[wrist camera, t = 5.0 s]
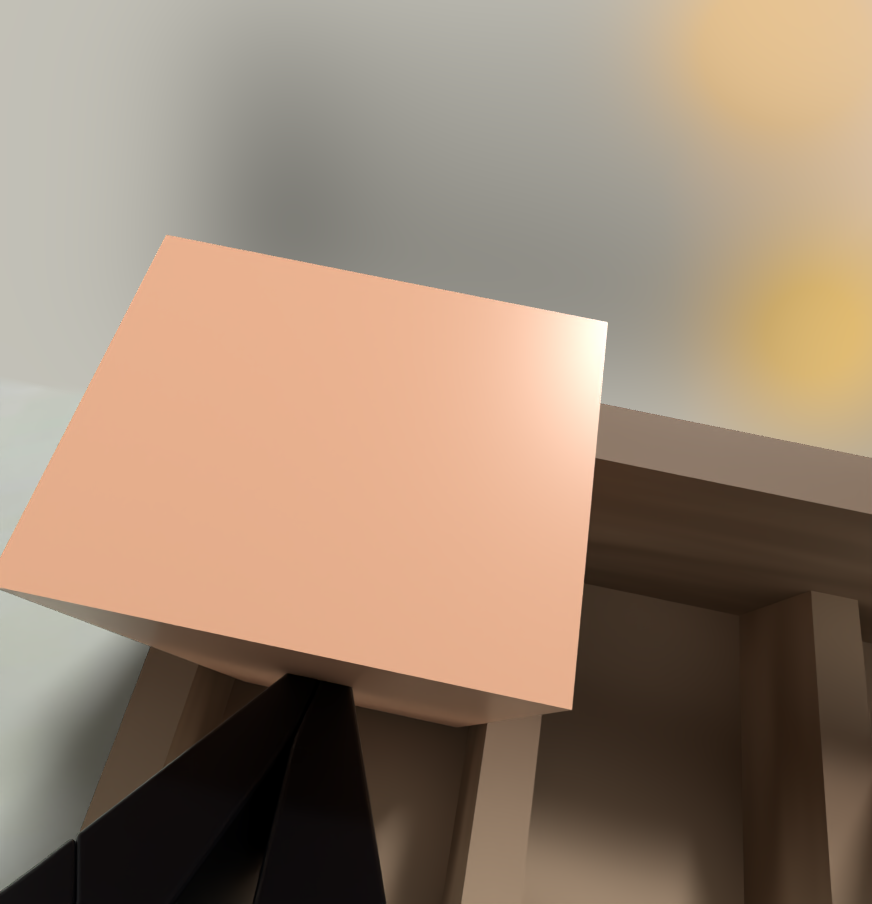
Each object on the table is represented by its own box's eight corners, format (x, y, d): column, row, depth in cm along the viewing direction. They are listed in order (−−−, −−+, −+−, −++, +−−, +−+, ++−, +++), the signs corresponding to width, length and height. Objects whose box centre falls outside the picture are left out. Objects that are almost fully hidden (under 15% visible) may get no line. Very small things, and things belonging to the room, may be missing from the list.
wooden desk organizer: (1069, 1110, 13) (2010, 1630, 6) (135, 899, 14) (-191, 1105, 6) (984, 647, 17) (1454, 575, 10) (269, 498, 18) (177, 318, 10)
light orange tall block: (456, 727, 14) (571, 709, 5) (244, 681, 14) (-15, 585, 5) (484, 560, 16) (608, 322, 7) (295, 520, 16) (166, 234, 7)
